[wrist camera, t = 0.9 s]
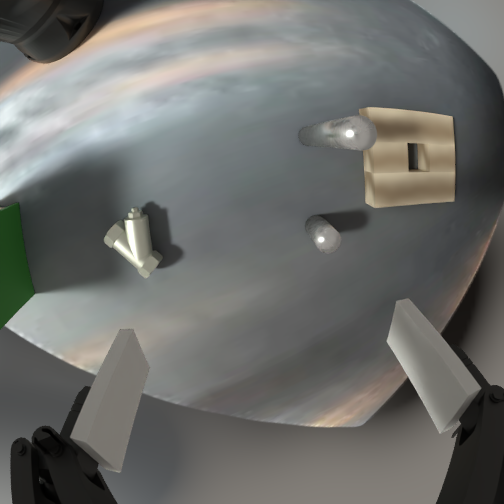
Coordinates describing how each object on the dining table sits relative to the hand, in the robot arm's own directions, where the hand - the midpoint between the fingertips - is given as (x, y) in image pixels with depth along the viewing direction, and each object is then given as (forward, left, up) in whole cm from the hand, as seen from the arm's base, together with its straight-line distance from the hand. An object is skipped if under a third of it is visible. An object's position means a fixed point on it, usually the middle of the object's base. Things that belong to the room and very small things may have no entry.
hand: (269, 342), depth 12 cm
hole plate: (-6, +24, -25) cm, 35 cm away
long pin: (-9, +9, -25) cm, 27 cm away
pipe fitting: (-1, -12, -23) cm, 26 cm away
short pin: (+3, +9, -25) cm, 26 cm away
